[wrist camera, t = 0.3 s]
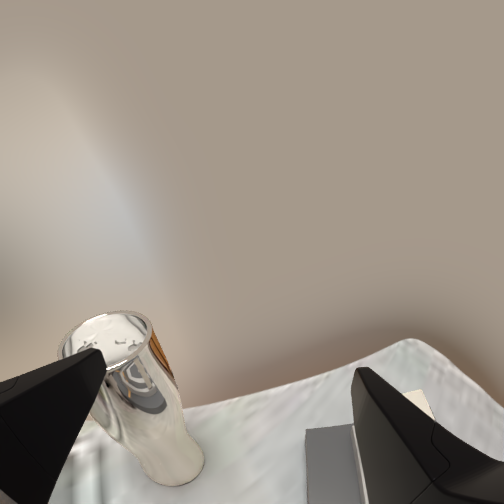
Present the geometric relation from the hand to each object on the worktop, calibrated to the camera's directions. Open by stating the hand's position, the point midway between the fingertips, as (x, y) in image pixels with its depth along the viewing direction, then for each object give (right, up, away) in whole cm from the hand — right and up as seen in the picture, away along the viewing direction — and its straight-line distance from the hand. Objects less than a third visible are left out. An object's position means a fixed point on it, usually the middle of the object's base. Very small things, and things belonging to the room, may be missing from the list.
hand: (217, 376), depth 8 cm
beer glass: (-6, -15, +11) cm, 20 cm away
